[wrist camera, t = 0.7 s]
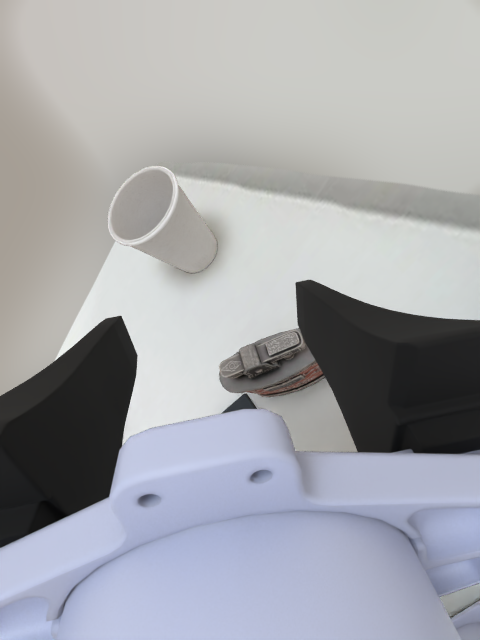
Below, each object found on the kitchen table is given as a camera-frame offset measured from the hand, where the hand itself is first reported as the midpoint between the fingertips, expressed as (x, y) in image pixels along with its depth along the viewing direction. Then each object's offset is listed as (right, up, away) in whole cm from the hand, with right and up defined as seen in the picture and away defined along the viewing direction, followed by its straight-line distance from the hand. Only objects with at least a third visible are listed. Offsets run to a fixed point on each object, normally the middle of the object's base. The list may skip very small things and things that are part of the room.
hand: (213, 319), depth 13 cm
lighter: (+6, -5, +17) cm, 18 cm away
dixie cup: (-4, +8, +25) cm, 27 cm away
